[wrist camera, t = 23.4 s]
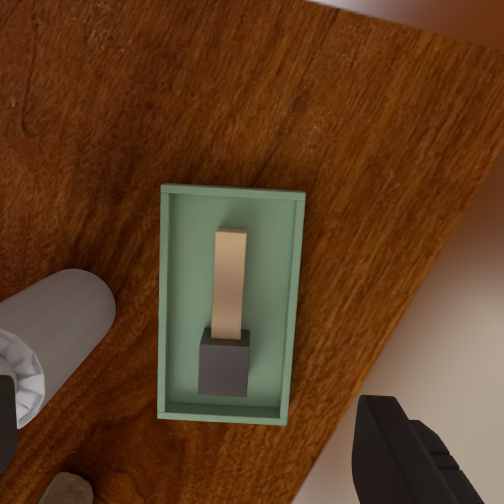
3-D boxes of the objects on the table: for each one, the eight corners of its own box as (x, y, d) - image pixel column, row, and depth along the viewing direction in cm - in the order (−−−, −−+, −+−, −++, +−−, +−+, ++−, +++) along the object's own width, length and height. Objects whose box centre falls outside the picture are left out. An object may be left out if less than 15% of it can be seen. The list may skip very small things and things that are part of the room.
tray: (166, 182, 32) (160, 184, 30) (302, 190, 32) (306, 192, 30) (162, 404, 36) (157, 419, 34) (285, 410, 36) (287, 425, 34)
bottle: (36, 266, 34) (-153, 355, 18) (115, 270, 34) (-3, 364, 18) (39, 341, 35) (-135, 485, 19) (116, 345, 35) (5, 493, 19)
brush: (208, 226, 32) (203, 232, 29) (256, 229, 32) (257, 236, 29) (202, 374, 35) (197, 395, 32) (247, 376, 35) (246, 397, 32)
